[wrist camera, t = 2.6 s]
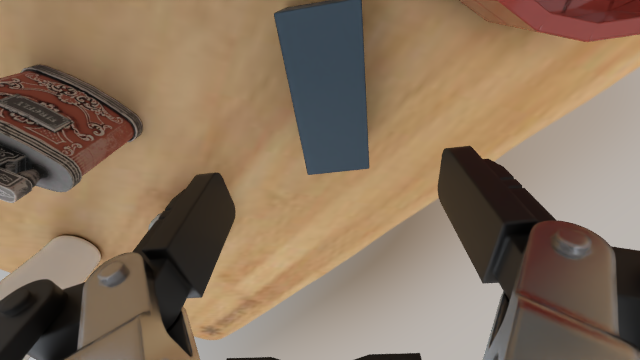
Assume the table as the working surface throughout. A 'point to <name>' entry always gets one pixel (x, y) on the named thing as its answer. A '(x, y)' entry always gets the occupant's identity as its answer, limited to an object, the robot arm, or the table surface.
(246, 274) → the table surface
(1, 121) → the lighter
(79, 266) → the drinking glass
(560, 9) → the bowl
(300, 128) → the blue rectangular block
